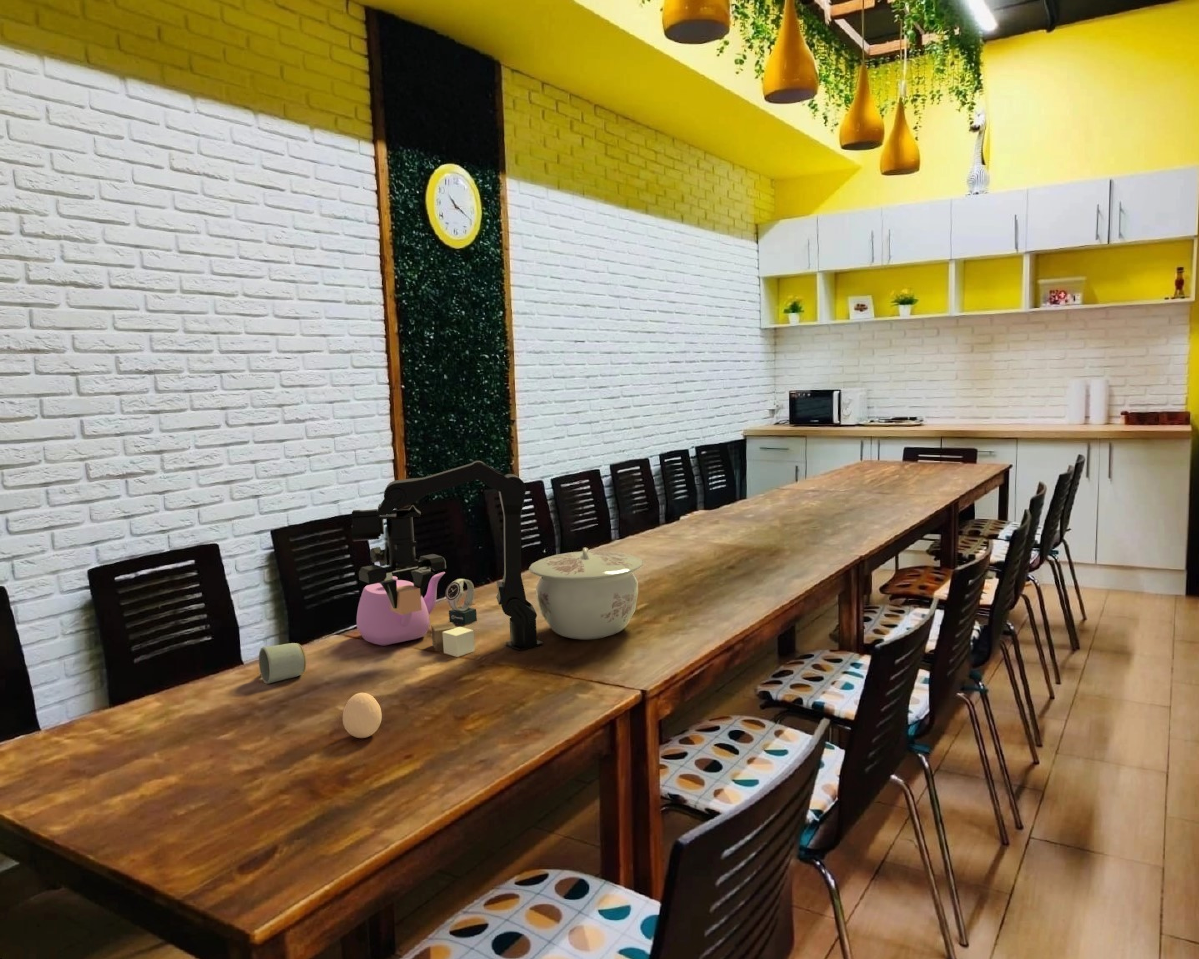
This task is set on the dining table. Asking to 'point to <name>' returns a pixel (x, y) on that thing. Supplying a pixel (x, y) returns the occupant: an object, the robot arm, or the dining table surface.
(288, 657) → the ceramic mug
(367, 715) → the egg
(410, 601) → the terracotta cube
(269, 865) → the dining table surface
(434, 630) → the walnut cube
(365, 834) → the dining table surface
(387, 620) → the teapot
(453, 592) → the watch
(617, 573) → the chamber pot
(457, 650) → the cream cube
